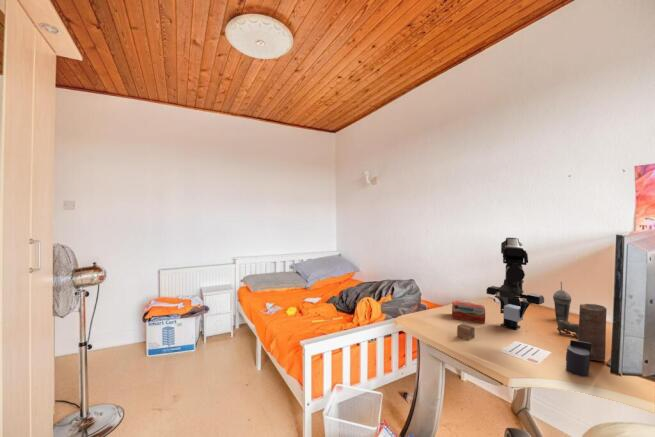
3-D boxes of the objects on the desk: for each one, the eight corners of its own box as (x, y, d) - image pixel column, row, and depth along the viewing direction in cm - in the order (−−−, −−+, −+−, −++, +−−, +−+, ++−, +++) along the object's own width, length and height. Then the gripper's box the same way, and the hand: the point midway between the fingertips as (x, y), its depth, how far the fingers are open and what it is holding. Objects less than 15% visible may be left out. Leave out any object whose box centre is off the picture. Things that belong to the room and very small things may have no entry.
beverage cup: (556, 321, 137) (556, 282, 137) (550, 317, 144) (550, 280, 144) (574, 324, 134) (574, 284, 134) (567, 319, 141) (567, 281, 141)
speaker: (566, 363, 95) (568, 336, 94) (589, 371, 91) (591, 342, 90) (563, 373, 90) (565, 344, 89) (587, 382, 86) (590, 352, 85)
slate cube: (509, 316, 112) (509, 304, 112) (522, 319, 108) (523, 307, 108) (503, 318, 109) (503, 305, 110) (517, 322, 105) (517, 309, 105)
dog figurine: (555, 334, 122) (555, 317, 122) (558, 330, 126) (558, 315, 126) (592, 343, 113) (592, 325, 113) (594, 339, 117) (593, 322, 117)
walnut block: (463, 334, 120) (463, 323, 120) (474, 338, 116) (474, 327, 116) (457, 337, 117) (457, 325, 117) (468, 341, 113) (468, 329, 113)
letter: (515, 341, 113) (515, 340, 113) (551, 353, 104) (551, 352, 104) (499, 351, 104) (499, 351, 104) (537, 365, 94) (537, 364, 94)
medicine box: (483, 318, 140) (484, 303, 140) (485, 324, 133) (485, 307, 133) (452, 314, 147) (452, 299, 147) (452, 318, 139) (452, 303, 140)
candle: (611, 365, 95) (612, 309, 95) (588, 363, 97) (588, 307, 97) (594, 354, 103) (594, 302, 103) (572, 353, 104) (573, 301, 104)
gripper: (480, 275, 112) (479, 312, 112) (533, 284, 97) (533, 327, 97) (492, 273, 119) (492, 308, 118) (544, 280, 103) (544, 321, 103)
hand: (513, 315), depth 109 cm, fingers closed on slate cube, 5 cm apart
